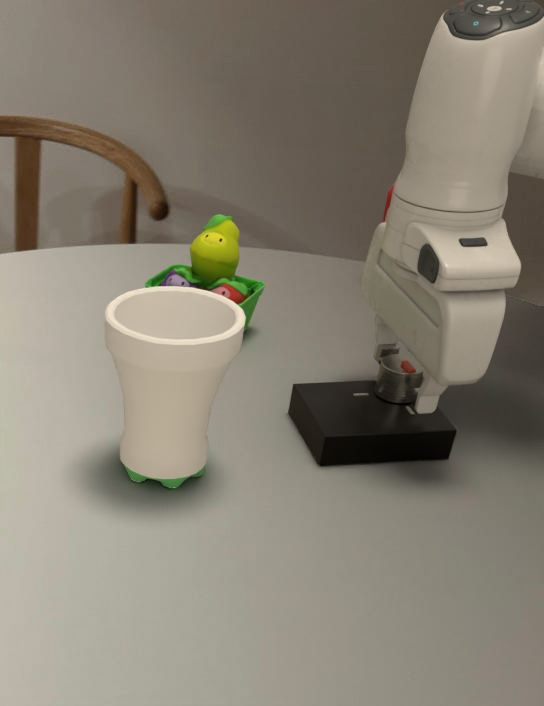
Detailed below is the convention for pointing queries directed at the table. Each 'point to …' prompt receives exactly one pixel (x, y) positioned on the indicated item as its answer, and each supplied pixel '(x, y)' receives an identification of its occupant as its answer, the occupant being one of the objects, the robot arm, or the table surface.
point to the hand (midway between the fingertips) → (402, 385)
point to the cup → (170, 375)
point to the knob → (398, 378)
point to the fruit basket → (215, 267)
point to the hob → (366, 425)
